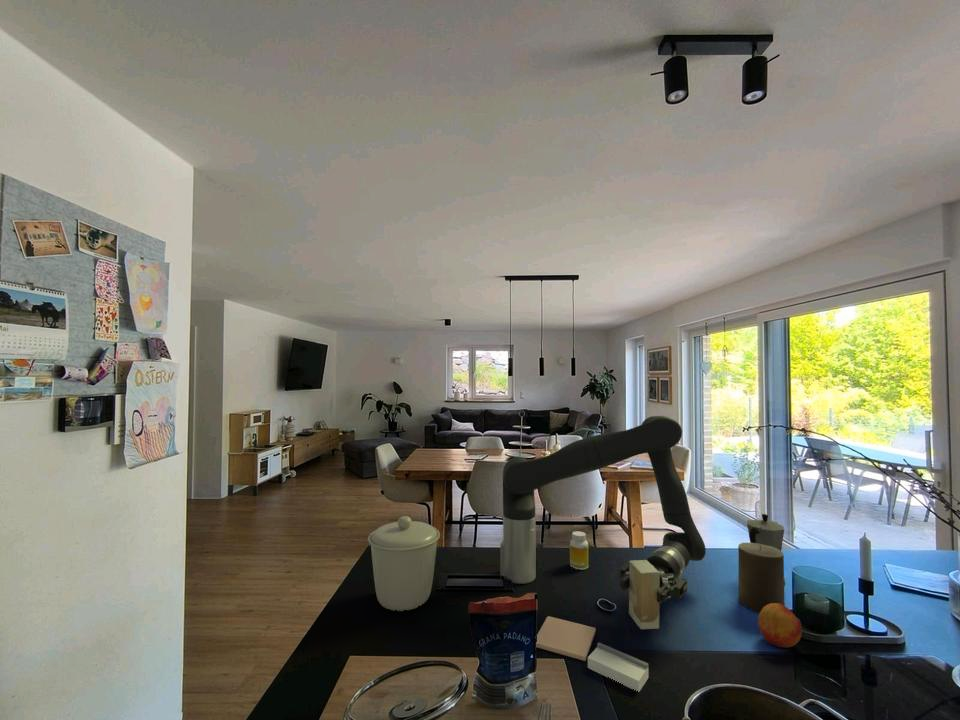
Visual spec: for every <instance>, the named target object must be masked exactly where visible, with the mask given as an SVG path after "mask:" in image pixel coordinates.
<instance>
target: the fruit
mask: <svg viewBox="0 0 960 720" xmlns="http://www.w3.org/2000/svg"><path fill="white" fill-rule="evenodd" d="M757 625H758V628H759V631H760V633H761V635H762V636H763V637H764V639H765V640H766V641H767V643H770V644H771V645H773V646H775V647H779V648H786V649H787V648H791V647H794V646H795V645H797V644H798V643H799V641H801V637H802V635H803V634H802V633H803V630H802V629H803V628H802V623H801V621H800V619H799V618H798V617H797V616H796V615H795V614H794V613H793V611H791V610H790V609H789V608H788V607H787V606H786V605H785V606H784V605H782V604H779V603H770V604H768V605H766V606H764V607H763V609H762V610H761V612H760V613H759V614H758V617H757Z"/></svg>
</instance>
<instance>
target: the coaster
mask: <svg viewBox="0 0 960 720" xmlns="http://www.w3.org/2000/svg"><path fill="white" fill-rule="evenodd" d="M595 635H596V627H593V626H588V625H585V624H582V623H577V622H573V621H569V620H566V619H562V618H558V617H553V616H549V615H547V617H546V618H545V620H544V622H543V624H542V625H541V627H540V629H539V630H538V633H537V634H536V636H537V642H536V647H535V648H537V649H542V650H546V651H549V652H552V653H556V654H559V655H563V656H567V657H570V658H573V659H577V660H580V661H583V662H586V660H587V659H588V654H589V652H590V649H591V646H592V643H593V640H594V637H595Z"/></svg>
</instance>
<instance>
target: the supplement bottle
mask: <svg viewBox="0 0 960 720" xmlns="http://www.w3.org/2000/svg"><path fill="white" fill-rule="evenodd" d="M571 535H572V536H571V537H572V539H571V540H570V541H569V566H570V567H571V568H572V567H573V568H572V569H574V568H575V569H574V570H578V569H579V570H581V571H583V570H586V569H588V568H589V543H588V541H587V537H586V533H585V532H583V531H572V533H571Z"/></svg>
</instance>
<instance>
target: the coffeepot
mask: <svg viewBox="0 0 960 720" xmlns="http://www.w3.org/2000/svg"><path fill="white" fill-rule="evenodd" d="M761 518H762V519H748V520H746V525H747V531H748V538H749V543H758V544H763V545H767V546H771V547H774V548H777V549H778V550H780V551H781V552H782V548H783V541H784V534H785V526H784V525H782V524H779V523H778V521H773V520H771V519H770V520H768V519H769V515H768V514H767V513H762V514H761ZM784 585H786V579H785V578H784Z"/></svg>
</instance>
